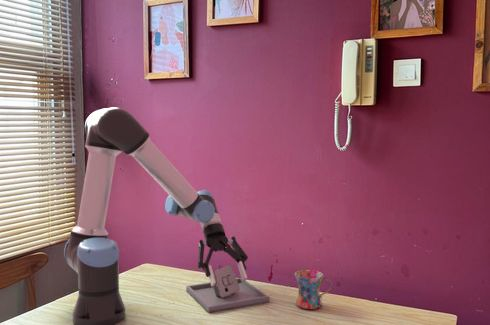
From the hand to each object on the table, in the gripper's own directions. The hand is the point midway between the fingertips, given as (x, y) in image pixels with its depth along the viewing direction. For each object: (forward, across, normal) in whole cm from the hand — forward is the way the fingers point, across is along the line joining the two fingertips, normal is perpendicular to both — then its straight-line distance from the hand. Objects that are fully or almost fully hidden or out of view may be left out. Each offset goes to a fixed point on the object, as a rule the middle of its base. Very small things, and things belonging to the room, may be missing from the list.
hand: (229, 282), depth 152 cm
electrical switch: (+2, 0, -6) cm, 6 cm away
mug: (+16, -22, +8) cm, 29 cm away
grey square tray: (+2, 0, -6) cm, 7 cm away
